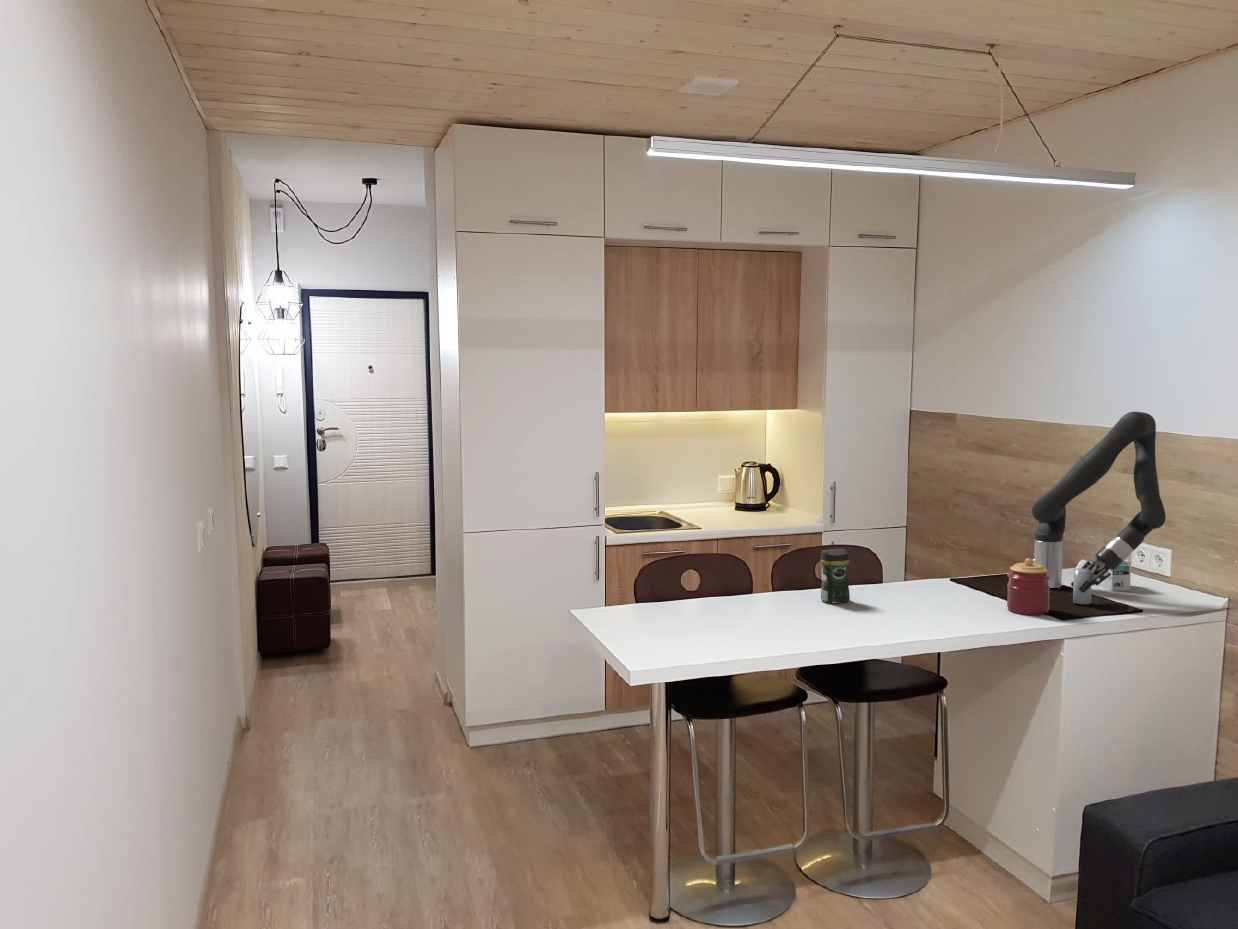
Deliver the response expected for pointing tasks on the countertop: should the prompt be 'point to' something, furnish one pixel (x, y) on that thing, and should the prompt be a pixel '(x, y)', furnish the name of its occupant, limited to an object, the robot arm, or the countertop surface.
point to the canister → (1028, 588)
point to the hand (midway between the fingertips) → (1076, 588)
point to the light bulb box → (1119, 578)
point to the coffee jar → (835, 575)
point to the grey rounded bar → (1079, 579)
